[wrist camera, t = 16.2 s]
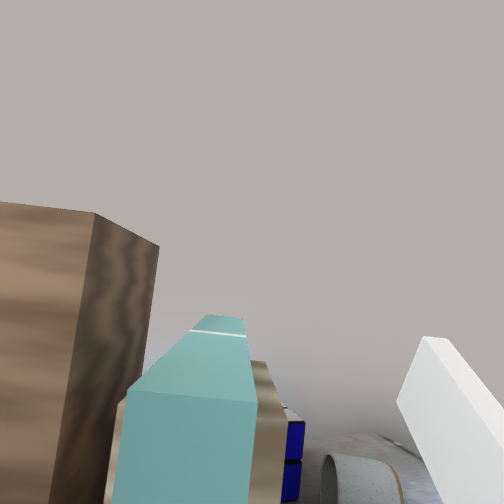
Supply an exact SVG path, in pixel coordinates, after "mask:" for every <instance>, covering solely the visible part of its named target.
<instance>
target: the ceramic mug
mask: <svg viewBox="0 0 504 504" xmlns="http://www.w3.org/2000/svg"><path fill="white" fill-rule="evenodd" d="M320 504H404V500H403V492H402V488H401V484H400V481H399V479H398V476H397V474H396V473H395V471H394V470H393V468H392V467H391V466H389V465H388V464H386V463H384V462H381V461H378V460H375V459H368V458H362V457H357V456H351V455H346V454H341V453H336V452H328V453H327V454H326V455H325V457H324V459H323V462H322V465H321V471H320Z"/></svg>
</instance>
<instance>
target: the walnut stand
mask: <svg viewBox="0 0 504 504" xmlns="http://www.w3.org/2000/svg"><path fill="white" fill-rule="evenodd" d="M158 255H159V246H157V245H156V244H154V243H152V242H149V241H148V240H146V239H144V238H142V237H140V236H138V235H137V234H135V233H133V232H131V231H129V230H127V229H125V228H123V227H121V226H119V225H117V224H115V223H114V222H112V221H110V220H108V219H106V218H104V217H102V216H100V215H98V214H96V213H93V212H84V211H76V210H67V209H59V208H50V207H41V206H33V205H25V204H16V203H8V202H0V504H103V503H104V496H105V489H106V483H107V476H108V469H109V462H110V455H111V448H112V441H113V435H114V428H115V421H116V414H117V407H118V404H119V403H120V402H121V401H122V400H123V399H124V398H125V397H126V396H127V390H128V389H129V388H130V387H131V386H132V385H133V384H134V383H135V382H136V381H137V380H138V379H139V378H140V377H141V376H142V369H143V362H144V354H145V348H146V340H147V333H148V326H149V318H150V312H151V305H152V298H153V290H154V283H155V276H156V269H157V262H158Z"/></svg>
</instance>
